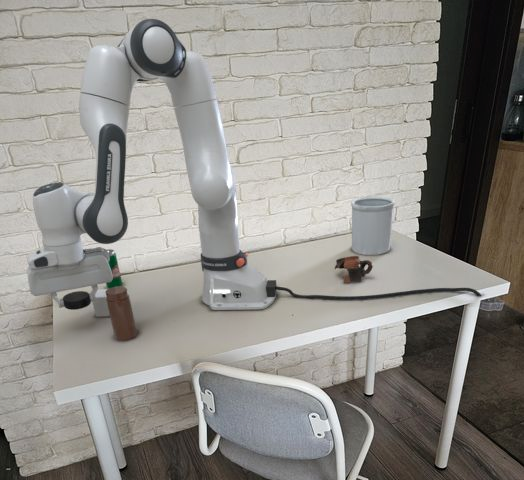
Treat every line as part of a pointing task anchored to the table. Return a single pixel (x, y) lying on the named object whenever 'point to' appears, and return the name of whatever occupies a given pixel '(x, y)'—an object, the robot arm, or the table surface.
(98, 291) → the white cube
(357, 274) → the pottery mug
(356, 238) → the utensil holder
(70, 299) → the lid
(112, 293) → the coffee jar
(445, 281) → the table surface
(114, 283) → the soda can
